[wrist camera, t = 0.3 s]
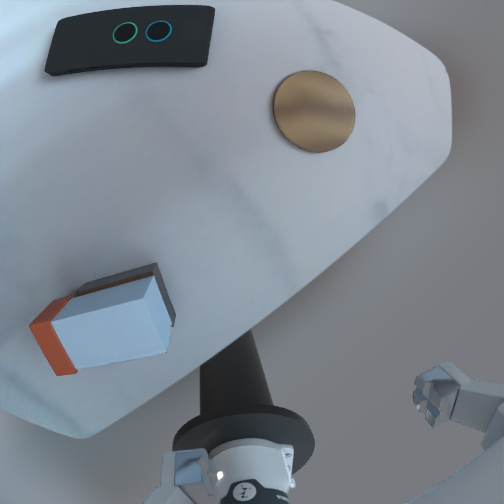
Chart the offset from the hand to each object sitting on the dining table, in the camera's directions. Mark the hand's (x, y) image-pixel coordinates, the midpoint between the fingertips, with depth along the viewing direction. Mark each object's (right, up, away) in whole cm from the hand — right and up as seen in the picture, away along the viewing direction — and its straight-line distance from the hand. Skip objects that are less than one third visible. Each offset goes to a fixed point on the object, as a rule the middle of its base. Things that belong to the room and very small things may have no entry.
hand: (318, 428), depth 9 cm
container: (-19, -1, +22) cm, 29 cm away
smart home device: (-17, +31, +17) cm, 39 cm away
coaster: (+5, +22, +22) cm, 32 cm away
